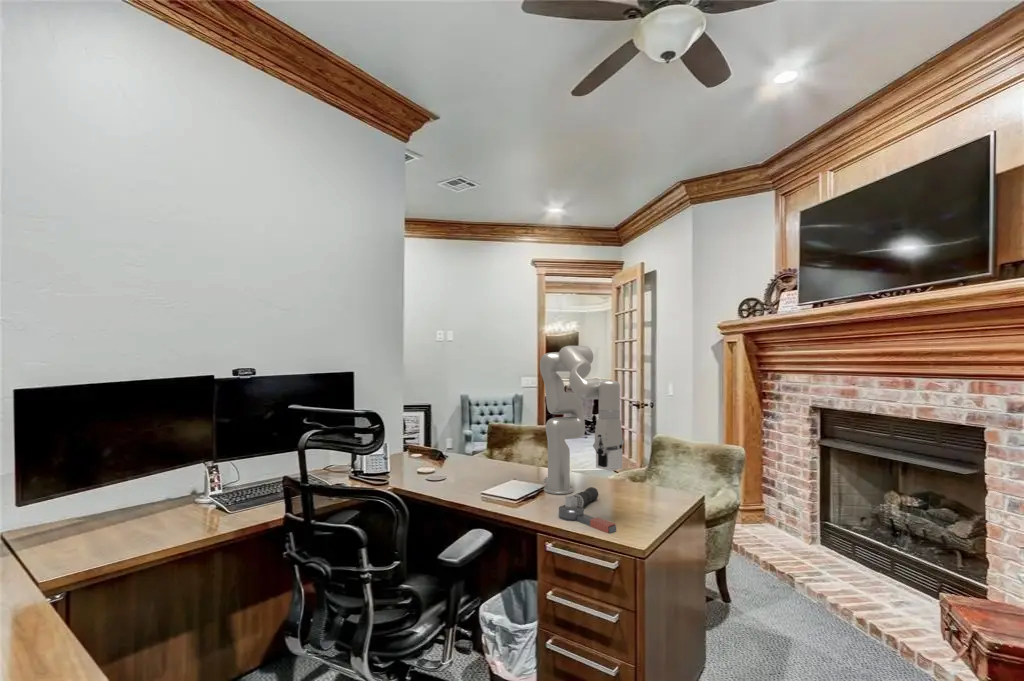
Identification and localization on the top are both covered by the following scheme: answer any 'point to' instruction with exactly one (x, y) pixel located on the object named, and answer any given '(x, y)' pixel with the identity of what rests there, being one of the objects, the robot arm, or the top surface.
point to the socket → (611, 459)
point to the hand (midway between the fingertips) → (608, 464)
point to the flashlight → (586, 496)
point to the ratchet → (583, 516)
